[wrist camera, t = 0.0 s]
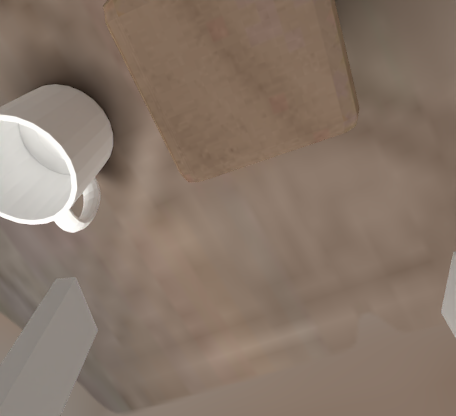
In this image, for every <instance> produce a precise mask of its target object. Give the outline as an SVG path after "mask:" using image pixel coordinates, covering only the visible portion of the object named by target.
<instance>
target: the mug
mask: <svg viewBox="0 0 456 416" xmlns="http://www.w3.org/2000/svg"><path fill="white" fill-rule="evenodd" d="M112 149H113V131H112V128H111V125H110V121H109V120H108V118H107V116H106V114H105V113H104V111H103V109H102V108H101V107H100V106H99V105H98V104H97V103H96V102H95V101H94V100H93V99H92V98H91V97H89V96H88V95H86V94H85V93H83V92H82V91H80V90H77V89H75V88H72V87H70V86H65V85H58V84H52V85H44V86H41V87H39V88H37V89H35V90H33V91H31V92H29V93H27V94H25V95H23V96H21V97H19V98H17V99H15V100H13V101H11V102H9V103H7V104H5V105H3V106H1V107H0V216H1V217H3V218H6V219H8V220H11V221H14V222H17V223H24V224H31V225H34V224H45V223H48V222H51V221H55V223H56V224H57V225H58V226H59V227H60V228H61V229H63V230H65V231H68V232H72V233H73V232H77V231H79V230H82V229H84V228H85V227H87V226H88V225H89V224H90V223H91V221H92V220H93V219H94V217H95V215H96V212H97V210H98V207H99V203H100V188H99V185H98V182H97V180H96V178H95V176H96V175H97V174H98V173H99V171H100V170H101V169H102V167H103V166H104V165H105V163H106V162H107V160H108V159H109V157H110V156H111V152H112ZM82 193H83V197H84V205H83V210H82V213H81V215H80V217H79V218H78V217H77V216H76V215H74V213H73V212H72V210H71V209H70V208H71V207H72V205H73V204H74V203H75V202H76V200H77V199H78V198H79V197H80V195H81V194H82Z"/></svg>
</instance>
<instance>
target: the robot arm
mask: <svg viewBox="0 0 456 416" xmlns="http://www.w3.org/2000/svg"><path fill="white" fill-rule="evenodd" d="M441 313H442V315H443V317H444V318H445V320H446V322H447V324H448V325H449V327H450V329H451V331H452V332H453V334H454V336H455V337H456V252H453V256H452V261H451V266H450V271H449V276H448V281H447V286H446V291H445V296H444V301H443V306H442V310H441ZM97 331H98V329H97V327H96V325H95V322H94V320H93V317H92V315H91V312H90V310H89V308H88V305H87V303H86V300H85V298H84V295H83V293H82V291H81V288H80V286H79V283H78V281H77V279H76V277H74V278H60V279H56V280H55V281H54V283H53V285H52V286H51V288H50V289H49V291H48V292H47V294H46V295H45V297H44V298H43V300H42V301H41V303H40V305H39V306H38V308H37V309H36V311H35V312H34V314H33V315H32V317H31V318H30V320H29V321H28V323H27V325H26V326H25V328H24V329H23V331H22V332H21V334H20V335H19V337H18V338H17V340H16V341H15V343H14V345H13V346H12V348H11V349H10V351H9V352H8V354H7V355H6V357H5V358H4V360H3V362H2V363H1V365H0V416H61V414H62V412H63V409H64V407H65V405H66V403H67V400H68V398H69V396H70V393H71V391H72V389H73V386H74V384H75V382H76V380H77V377H78V375H79V373H80V370H81V368H82V366H83V364H84V361H85V359H86V357H87V354H88V352H89V350H90V347H91V345H92V343H93V341H94V338H95V336H96V334H97Z"/></svg>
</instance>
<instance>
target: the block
mask: <svg viewBox="0 0 456 416" xmlns="http://www.w3.org/2000/svg"><path fill="white" fill-rule="evenodd" d="M103 9H104V14H105V21H106V25H107V27H108V29H109V31H110V33H111V35H112V37H113V39H114V41H115V43H116V45H117V47H118V49H119V51H120V53H121V55H122V57H123V59H124V61H125V63H126V65H127V67H128V70H129V72H130V74H131V76H132V78H133V80H134V82H135V84H136V86H137V88H138V90H139V92H140V94H141V96H142V98H143V100H144V102H145V104H146V106H147V108H148V110H149V112H150V114H151V116H152V118H153V120H154V122H155V124H156V126H157V128H158V130H159V132H160V134H161V136H162V138H163V140H164V142H165V144H166V146H167V148H168V150H169V152H170V154H171V156H172V158H173V160H174V162H175V164H176V166H177V168H178V170H179V172H180V173H181V175H182V176H183V177H184V178H185V179H186V180H187V181H188V182H201V181H204V180H207V179H210V178H213V177H216V176H219V175H222V174H225V173H228V172H231V171H234V170H237V169H240V168H243V167H246V166H248V165H251V164H254V163H257V162H260V161H263V160H266V159H269V158H272V157H275V156H278V155H281V154H284V153H287V152H290V151H293V150H296V149H299V148H302V147H305V146H308V145H311V144H314V143H317V142H319V141H322V140H325V139H328V138H331V137H334V136H337V135H340V134H343V133H346V132H347V131H349V130H350V129H352V128H353V127H355V126H356V124H357V118H358V113H359V104H358V100H357V96H356V91H355V87H354V82H353V78H352V74H351V69H350V65H349V61H348V56H347V52H346V48H345V43H344V39H343V34H342V30H341V26H340V21H339V17H338V13H337V8H336V4H335V0H107V1H106V3H105V4H104V5H103Z"/></svg>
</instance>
